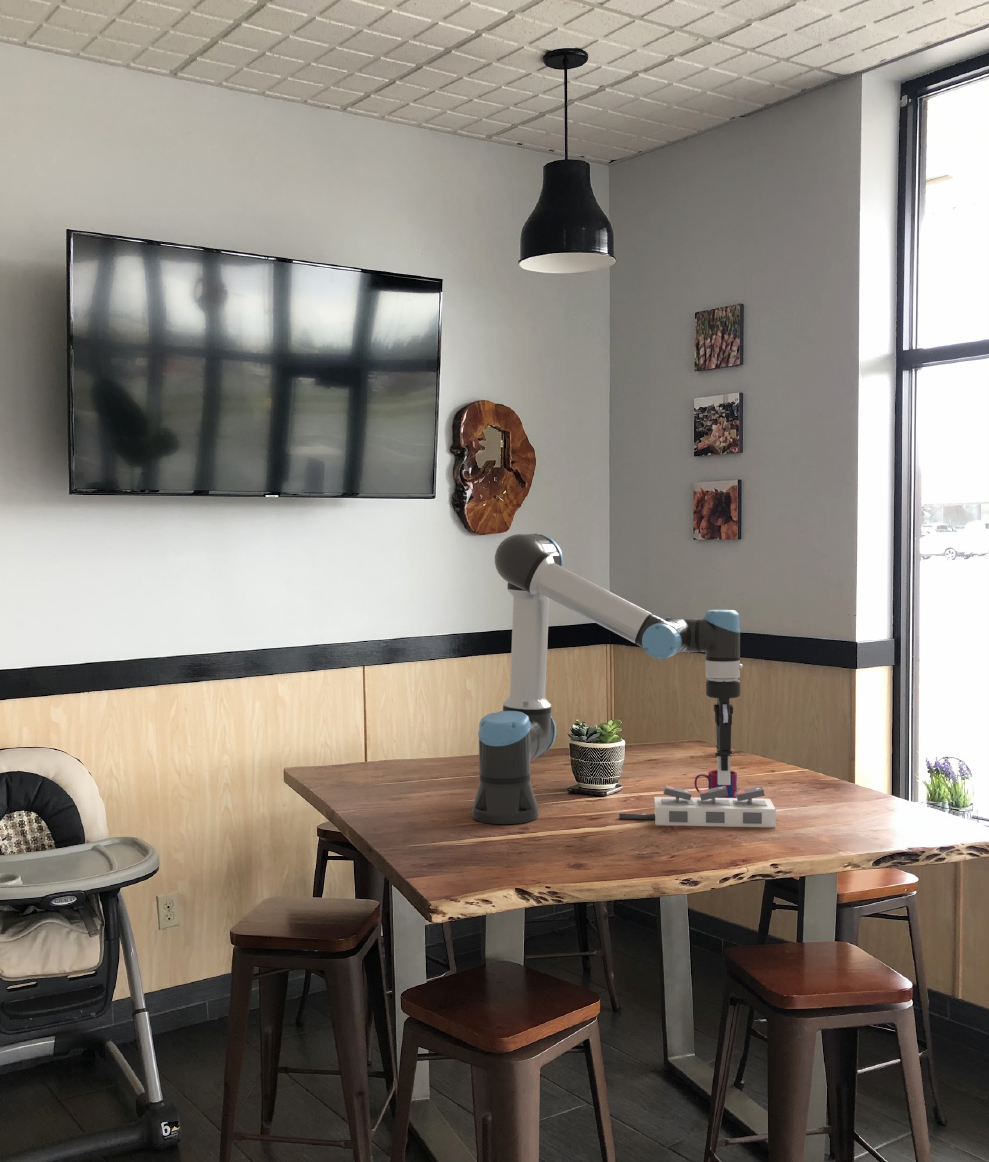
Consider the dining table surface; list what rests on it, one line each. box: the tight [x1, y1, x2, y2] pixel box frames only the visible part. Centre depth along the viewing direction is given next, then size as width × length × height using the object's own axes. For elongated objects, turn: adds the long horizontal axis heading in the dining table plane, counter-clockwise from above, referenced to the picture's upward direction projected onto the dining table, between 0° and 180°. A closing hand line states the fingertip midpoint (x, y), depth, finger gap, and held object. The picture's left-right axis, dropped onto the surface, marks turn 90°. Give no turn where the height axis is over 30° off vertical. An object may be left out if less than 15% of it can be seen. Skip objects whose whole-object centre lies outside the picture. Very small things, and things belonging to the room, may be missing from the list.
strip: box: [618, 796, 777, 828], centre depth 252 cm, size 34×10×5 cm, turn 83°
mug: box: [694, 769, 738, 798], centre depth 271 cm, size 7×10×7 cm
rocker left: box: [662, 784, 692, 800], centre depth 253 cm, size 6×4×1 cm, turn 83°
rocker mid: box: [698, 786, 728, 801], centre depth 252 cm, size 6×4×2 cm, turn 83°
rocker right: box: [735, 786, 766, 801], centre depth 251 cm, size 6×4×2 cm, turn 83°
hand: (724, 784), depth 251 cm, fingers closed
